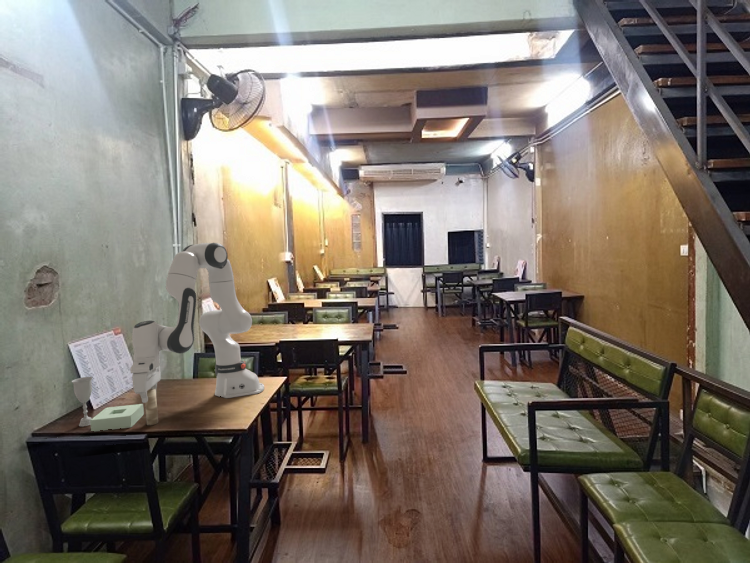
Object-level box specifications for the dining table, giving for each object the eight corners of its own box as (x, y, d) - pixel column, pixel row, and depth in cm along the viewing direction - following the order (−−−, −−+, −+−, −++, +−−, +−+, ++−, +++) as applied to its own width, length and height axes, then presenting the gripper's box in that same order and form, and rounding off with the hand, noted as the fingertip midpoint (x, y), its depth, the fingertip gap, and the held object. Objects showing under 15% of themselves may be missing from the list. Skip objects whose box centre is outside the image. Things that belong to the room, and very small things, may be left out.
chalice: (82, 421, 174) (78, 377, 173) (100, 419, 175) (96, 376, 174) (71, 428, 167) (67, 382, 166) (90, 426, 168) (85, 381, 167)
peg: (159, 420, 170) (157, 388, 170) (156, 424, 166) (153, 391, 166) (148, 421, 170) (146, 389, 169) (145, 425, 166) (142, 392, 165)
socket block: (144, 414, 179) (143, 403, 178) (131, 427, 165) (130, 415, 165) (107, 418, 176) (106, 407, 176) (91, 431, 162) (90, 420, 162)
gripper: (147, 358, 176) (149, 391, 177) (128, 370, 156) (130, 407, 157) (163, 357, 177) (166, 390, 178) (147, 368, 157) (149, 405, 158)
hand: (149, 398), depth 167 cm, fingers open, 8 cm apart
